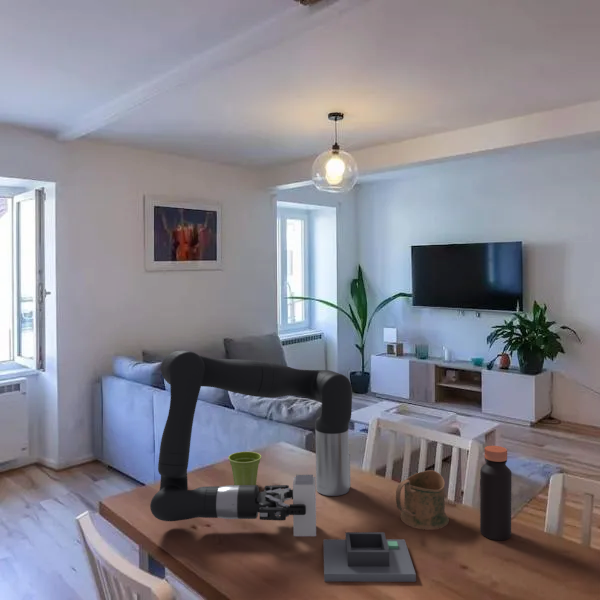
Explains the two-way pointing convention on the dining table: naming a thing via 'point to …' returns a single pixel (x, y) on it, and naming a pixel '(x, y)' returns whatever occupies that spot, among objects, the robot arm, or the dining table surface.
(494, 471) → the bottle
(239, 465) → the plant pot
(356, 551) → the dock
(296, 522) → the grey tall block
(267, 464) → the dining table surface
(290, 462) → the dining table surface
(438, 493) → the mug
